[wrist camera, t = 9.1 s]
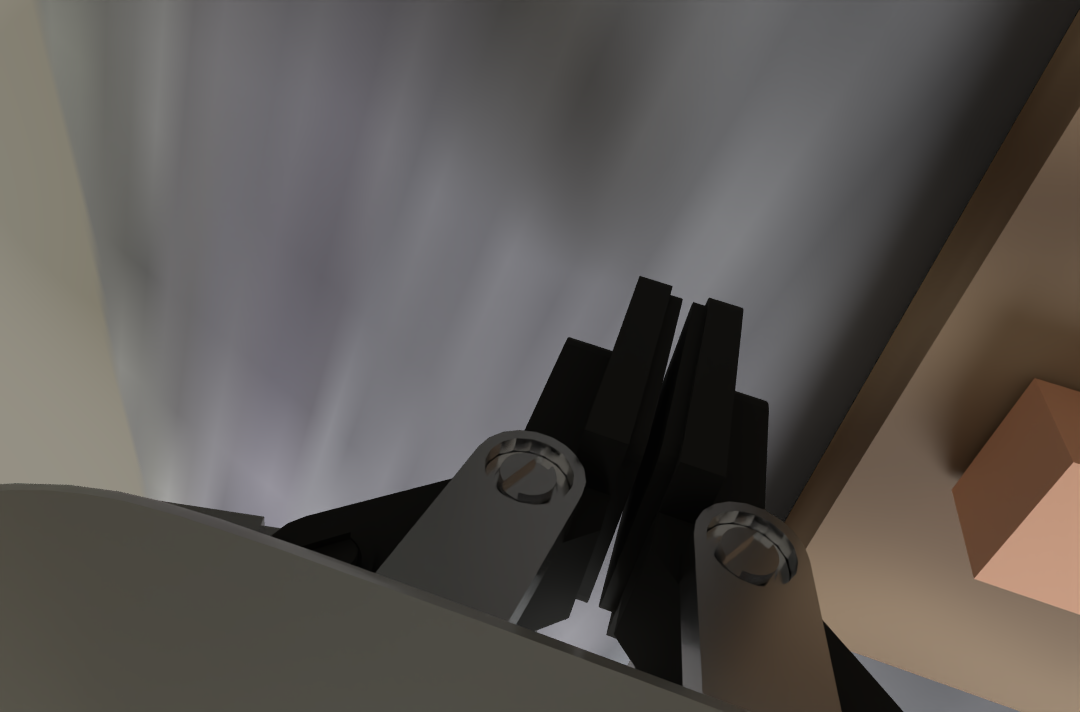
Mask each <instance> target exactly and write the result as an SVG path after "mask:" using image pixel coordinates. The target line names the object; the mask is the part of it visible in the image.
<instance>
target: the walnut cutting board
mask: <svg viewBox="0 0 1080 712" xmlns="http://www.w3.org/2000/svg"><path fill="white" fill-rule="evenodd" d="M1034 378H1036V379H1040V380H1043V381H1046V382H1049V383H1053V384H1056V385H1059V386H1062V387H1066V388H1069V389H1072V390H1075V391H1079V392H1080V10H1079V11H1078V13H1077V15H1076V17H1075V18H1074V20H1073V22H1072V23H1071V25H1070V27H1069V29H1068V30H1067V32H1066V34H1065V36H1064V37H1063V39H1062V41H1061V43H1060V44H1059V46H1058V48H1057V50H1056V51H1055V53H1054V55H1053V57H1052V58H1051V60H1050V62H1049V63H1048V65H1047V67H1046V69H1045V70H1044V72H1043V74H1042V76H1041V77H1040V79H1039V81H1038V83H1037V84H1036V86H1035V88H1034V90H1033V91H1032V93H1031V95H1030V97H1029V98H1028V100H1027V102H1026V103H1025V105H1024V107H1023V109H1022V110H1021V112H1020V114H1019V116H1018V117H1017V119H1016V121H1015V123H1014V124H1013V126H1012V128H1011V130H1010V131H1009V133H1008V135H1007V136H1006V138H1005V140H1004V142H1003V143H1002V145H1001V147H1000V149H999V150H998V152H997V154H996V156H995V157H994V159H993V161H992V163H991V164H990V166H989V168H988V170H987V171H986V173H985V175H984V176H983V178H982V180H981V182H980V183H979V185H978V187H977V189H976V190H975V192H974V194H973V196H972V197H971V199H970V201H969V203H968V204H967V206H966V208H965V210H964V211H963V213H962V215H961V216H960V218H959V220H958V222H957V223H956V225H955V227H954V229H953V230H952V232H951V234H950V236H949V237H948V239H947V241H946V243H945V244H944V246H943V248H942V249H941V251H940V253H939V255H938V256H937V258H936V260H935V262H934V263H933V265H932V267H931V269H930V270H929V272H928V274H927V276H926V277H925V279H924V281H923V283H922V284H921V286H920V288H919V289H918V291H917V293H916V295H915V296H914V298H913V300H912V302H911V303H910V305H909V307H908V309H907V310H906V312H905V314H904V316H903V317H902V319H901V321H900V322H899V324H898V326H897V328H896V329H895V331H894V333H893V335H892V336H891V338H890V340H889V342H888V343H887V345H886V347H885V349H884V350H883V352H882V354H881V356H880V357H879V359H878V361H877V362H876V364H875V366H874V368H873V369H872V371H871V373H870V375H869V376H868V378H867V380H866V382H865V383H864V385H863V387H862V389H861V390H860V392H859V394H858V396H857V397H856V399H855V401H854V402H853V404H852V406H851V408H850V409H849V411H848V413H847V415H846V416H845V418H844V420H843V422H842V423H841V425H840V427H839V429H838V430H837V432H836V434H835V435H834V437H833V439H832V441H831V442H830V444H829V446H828V448H827V449H826V451H825V453H824V455H823V456H822V458H821V460H820V462H819V463H818V465H817V467H816V469H815V470H814V472H813V474H812V475H811V477H810V479H809V481H808V482H807V484H806V486H805V488H804V489H803V491H802V493H801V495H800V496H799V498H798V500H797V502H796V503H795V505H794V507H793V509H792V510H791V512H790V514H789V515H788V517H787V519H786V521H785V522H784V523H785V524H786V525H787V526H788V527H789V528H791V529H792V530H793V531H794V532H795V534H796V535H797V536H798V538H799V539H800V540H801V542H802V543H803V545H804V546H805V549H806V551H807V554H808V557H809V559H810V563H811V567H812V572H813V577H814V582H815V587H816V591H817V596H818V601H819V606H820V610H821V615H822V620H823V621H824V622H825V623H826V624H827V625H828V626H829V628H830V629H831V630H832V631H833V632H834V633H835V634H836V636H837V637H838V638H839V639H840V640H841V641H842V642H843V644H844V645H845V646H846V647H847V648H848V649H849V650H850V651H852V652H855V653H858V654H860V655H863V656H866V657H869V658H872V659H874V660H877V661H880V662H883V663H886V664H888V665H891V666H894V667H897V668H900V669H903V670H905V671H908V672H911V673H914V674H917V675H919V676H922V677H925V678H928V679H931V680H934V681H936V682H939V683H942V684H945V685H948V686H950V687H953V688H956V689H959V690H962V691H965V692H967V693H970V694H973V695H976V696H979V697H981V698H984V699H987V700H990V701H993V702H995V703H998V704H1001V705H1004V706H1007V707H1010V708H1012V709H1015V710H1018V711H1021V712H1080V615H1079V614H1076V613H1073V612H1070V611H1067V610H1064V609H1061V608H1058V607H1055V606H1052V605H1050V604H1047V603H1044V602H1041V601H1038V600H1035V599H1032V598H1029V597H1026V596H1023V595H1020V594H1017V593H1014V592H1011V591H1008V590H1005V589H1002V588H999V587H996V586H993V585H990V584H988V583H985V582H982V581H979V580H976V579H974V577H973V573H972V569H971V565H970V561H969V557H968V553H967V549H966V545H965V541H964V537H963V533H962V529H961V525H960V521H959V517H958V513H957V509H956V505H955V501H954V497H953V493H952V489H953V487H954V486H955V484H956V483H957V482H958V480H959V479H960V478H961V476H962V475H963V474H964V472H965V471H966V470H967V468H968V467H969V466H970V464H971V463H972V462H973V460H974V459H975V458H976V456H977V455H978V454H979V452H980V451H981V449H982V448H983V447H984V445H985V444H986V443H987V441H988V440H989V439H990V437H991V436H992V435H993V433H994V432H995V431H996V429H997V428H998V427H999V425H1000V424H1001V423H1002V421H1003V420H1004V418H1005V417H1006V416H1007V414H1008V413H1009V412H1010V410H1011V409H1012V408H1013V406H1014V405H1015V404H1016V402H1017V401H1018V400H1019V398H1020V397H1021V396H1022V394H1023V393H1024V392H1025V390H1026V389H1027V388H1028V386H1029V385H1030V383H1031V382H1032V381H1033V379H1034Z"/></svg>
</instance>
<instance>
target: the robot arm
mask: <svg viewBox="0 0 1080 712" xmlns="http://www.w3.org/2000/svg"><path fill="white" fill-rule="evenodd" d="M671 290H672V286H670V285H667V284H664V283H661V282H658V281H654V280H651V279H648V278H645V277H642V276H640V277H639V279H638V282H637V285H636V288H635V290H634V293H633V296H632V299H631V302H630V304H629V307H628V310H627V313H626V315H625V318H624V321H623V324H622V327H621V329H620V332H619V335H618V338H617V340H616V343H615V346H614V349H613V351H610V350H607V349H604V348H601V347H598V346H595V345H592V344H589V343H586V342H583V341H580V340H576V339H573V338H570V337H569V338H568V339H567V340H566V342H565V344H564V347H563V349H562V351H561V353H560V355H559V357H558V359H557V362H556V364H555V366H554V368H553V370H552V372H551V375H550V377H549V379H548V381H547V383H546V385H545V388H544V390H543V392H542V394H541V396H540V398H539V401H538V403H537V405H536V407H535V409H534V411H533V413H532V416H531V418H530V420H529V422H528V424H527V426H526V429H525V431H523V430H515V431H506V432H502V433H499V434H496V435H494V436H491V437H489V438H488V439H487V440H485V441H484V442H483V443H482V444H481V445H479V446H478V448H477V449H476V450H475V451H474V453H473V454H472V455H471V456H470V457H469V459H468V460H467V461H466V462H465V464H464V465H463V466H462V467H461V468H460V470H459V471H458V472H457V473H456V475H455V476H454V477H453V478H452V479H448V480H444V481H441V482H437V483H433V484H429V485H425V486H421V487H417V488H413V489H410V490H406V491H402V492H398V493H394V494H390V495H386V496H382V497H379V498H375V499H371V500H367V501H363V502H359V503H355V504H351V505H348V506H344V507H340V508H336V509H332V510H328V511H324V512H320V513H317V514H313V515H309V516H305V517H303V518H300V519H298V520H295V521H293V522H290V523H288V524H286V525H285V526H283V527H282V528H275V527H268V526H265V523H264V517H262V516H256V515H249V514H243V513H236V512H229V511H223V510H216V509H210V508H203V507H197V506H190V505H184V504H177V503H170V502H164V501H158V500H154V499H149V498H145V497H140V496H136V495H132V494H128V493H123V492H119V491H111V490H103V489H95V488H88V487H81V486H73V485H54V484H52V485H51V484H22V483H14V484H0V712H903V711H902V710H901V708H900V707H899V706H898V705H897V704H896V703H895V702H894V700H893V699H892V698H891V697H890V696H889V695H888V694H887V693H886V691H885V690H884V689H883V688H882V687H881V686H880V685H879V683H878V682H877V681H876V680H875V679H874V678H873V677H872V675H871V674H870V673H869V672H868V671H867V670H866V669H865V667H864V666H863V665H862V664H861V663H860V662H859V661H858V659H857V658H856V657H855V656H854V655H853V654H852V653H851V652H850V650H849V649H848V648H847V647H846V646H845V645H844V644H843V642H842V641H841V640H840V639H839V638H838V637H837V636H836V634H835V633H834V632H833V631H832V630H831V629H830V628H829V626H828V625H827V624H826V623H825V622H824V621H823V620H822V615H821V610H820V606H819V601H818V596H817V591H816V587H815V582H814V577H813V572H812V567H811V563H810V559H809V557H808V554H807V551H806V549H805V546H804V545H803V543H802V542H801V540H800V539H799V538H798V536H797V535H796V534H795V532H794V531H793V530H792V529H791V528H789V527H788V526H787V525H786V524H785V523H784V522H783V521H782V520H780V519H779V518H777V517H776V516H774V515H772V514H770V513H769V512H767V511H765V489H766V464H767V440H768V416H769V406H768V403H767V401H764V400H761V399H758V398H755V397H752V396H749V395H746V394H743V393H740V392H737V391H735V385H736V376H737V366H738V357H739V347H740V338H741V329H742V319H743V308H741V307H738V306H734V305H731V304H728V303H725V302H722V301H718V300H715V299H712V298H709V299H708V300H707V303H706V305H705V306H704V305H701V304H697V303H694V302H693V303H692V306H691V308H690V311H689V313H688V316H687V319H686V321H685V324H684V327H683V329H682V332H681V335H680V337H679V340H678V343H677V345H676V348H675V351H674V353H673V356H672V359H671V361H670V364H669V367H668V369H667V372H666V375H665V378H664V374H665V370H666V366H667V362H668V358H669V354H670V350H671V345H672V341H673V337H674V333H675V329H676V325H677V321H678V317H679V313H680V309H681V305H682V300H683V299H682V298H678V297H675V296H672V295H670V294H671ZM663 378H664V380H663ZM662 382H663V383H662ZM622 512H623V513H622ZM621 514H622V517H621ZM620 517H621V521H620V525H619V529H618V533H617V536H616V540H615V544H614V548H613V552H612V556H611V560H610V564H609V568H608V571H607V575H606V579H605V583H604V587H603V591H602V595H601V599H600V603H599V607H600V608H603V609H606V610H608V611H611V612H612V613H611V617H610V622H609V626H608V630H607V634H606V635H608V636H611V637H613V638H616V639H617V640H618V642H619V643H620V645H621V646H622V648H623V649H624V651H625V653H626V654H627V656H628V657H629V659H630V661H629V663H628V665H624V664H621V663H618V662H616V661H613V660H610V659H608V658H605V657H602V656H599V655H597V654H594V653H591V652H589V651H586V650H583V649H581V648H578V647H575V646H572V645H570V644H567V643H564V642H562V641H559V640H556V639H553V638H551V637H548V636H545V635H543V634H540V633H537V630H539V629H541V628H544V627H547V626H549V625H552V624H554V623H557V622H559V621H562V620H566V619H567V618H569V616H570V613H571V610H572V607H573V605H574V602H575V599H578V600H581V601H584V602H586V603H587V602H588V600H589V598H590V595H591V593H592V590H593V587H594V585H595V582H596V580H597V577H598V574H599V572H600V569H601V567H602V564H603V561H604V559H605V556H606V554H607V551H608V548H609V546H610V543H611V540H612V538H613V535H614V533H615V530H616V527H617V525H618V522H619V520H620Z"/></svg>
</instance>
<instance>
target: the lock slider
mask: <svg viewBox="0 0 1080 712" xmlns="http://www.w3.org/2000/svg"><path fill="white" fill-rule="evenodd" d="M952 493H953V497H954V501H955V505H956V509H957V513H958V517H959V521H960V525H961V529H962V533H963V537H964V541H965V545H966V549H967V553H968V557H969V561H970V565H971V569H972V573H973V577H974V579H976V580H979V581H982V582H985V583H988V584H990V585H993V586H996V587H999V588H1002V589H1005V590H1008V591H1011V592H1014V593H1017V594H1020V595H1023V596H1026V597H1029V598H1032V599H1035V600H1038V601H1041V602H1044V603H1047V604H1050V605H1052V606H1055V607H1058V608H1061V609H1064V610H1067V611H1070V612H1073V613H1076V614H1079V615H1080V392H1079V391H1075V390H1072V389H1069V388H1066V387H1062V386H1059V385H1056V384H1053V383H1049V382H1046V381H1043V380H1040V379H1036V378H1034V379H1033V381H1032V382H1031V383H1030V385H1029V386H1028V388H1027V389H1026V390H1025V392H1024V393H1023V394H1022V396H1021V397H1020V398H1019V400H1018V401H1017V402H1016V404H1015V405H1014V406H1013V408H1012V409H1011V410H1010V412H1009V413H1008V414H1007V416H1006V417H1005V418H1004V420H1003V421H1002V423H1001V424H1000V425H999V427H998V428H997V429H996V431H995V432H994V433H993V435H992V436H991V437H990V439H989V440H988V441H987V443H986V444H985V445H984V447H983V448H982V449H981V451H980V452H979V454H978V455H977V456H976V458H975V459H974V460H973V462H972V463H971V464H970V466H969V467H968V468H967V470H966V471H965V472H964V474H963V475H962V476H961V478H960V479H959V480H958V482H957V483H956V484H955V486H954V487H953V489H952Z"/></svg>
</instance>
